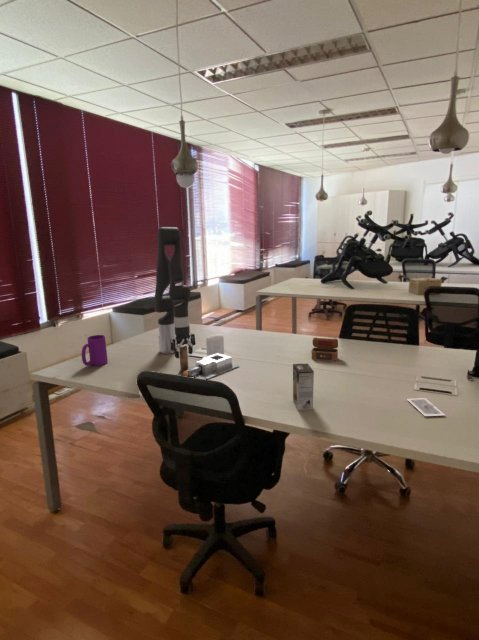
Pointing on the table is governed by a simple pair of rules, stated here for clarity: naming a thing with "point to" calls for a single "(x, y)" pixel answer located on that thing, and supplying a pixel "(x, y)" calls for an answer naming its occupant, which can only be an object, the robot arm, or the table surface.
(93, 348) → the mug
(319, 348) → the box
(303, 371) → the coffee box
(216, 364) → the dock
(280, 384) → the table surface
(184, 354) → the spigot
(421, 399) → the touchpad
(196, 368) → the lock pin
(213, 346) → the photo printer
